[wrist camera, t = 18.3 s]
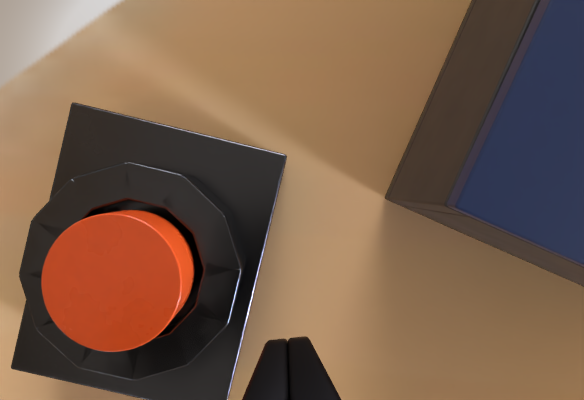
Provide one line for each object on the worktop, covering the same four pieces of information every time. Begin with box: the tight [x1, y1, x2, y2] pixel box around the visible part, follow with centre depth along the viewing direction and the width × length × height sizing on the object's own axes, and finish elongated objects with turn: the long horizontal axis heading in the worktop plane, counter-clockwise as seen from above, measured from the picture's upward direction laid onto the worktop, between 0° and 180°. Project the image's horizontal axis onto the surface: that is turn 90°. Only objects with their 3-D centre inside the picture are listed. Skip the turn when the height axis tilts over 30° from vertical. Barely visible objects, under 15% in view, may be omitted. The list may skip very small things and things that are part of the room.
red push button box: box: [11, 103, 287, 400], centre depth 18 cm, size 10×8×6 cm
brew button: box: [41, 210, 195, 352], centre depth 14 cm, size 4×4×2 cm
